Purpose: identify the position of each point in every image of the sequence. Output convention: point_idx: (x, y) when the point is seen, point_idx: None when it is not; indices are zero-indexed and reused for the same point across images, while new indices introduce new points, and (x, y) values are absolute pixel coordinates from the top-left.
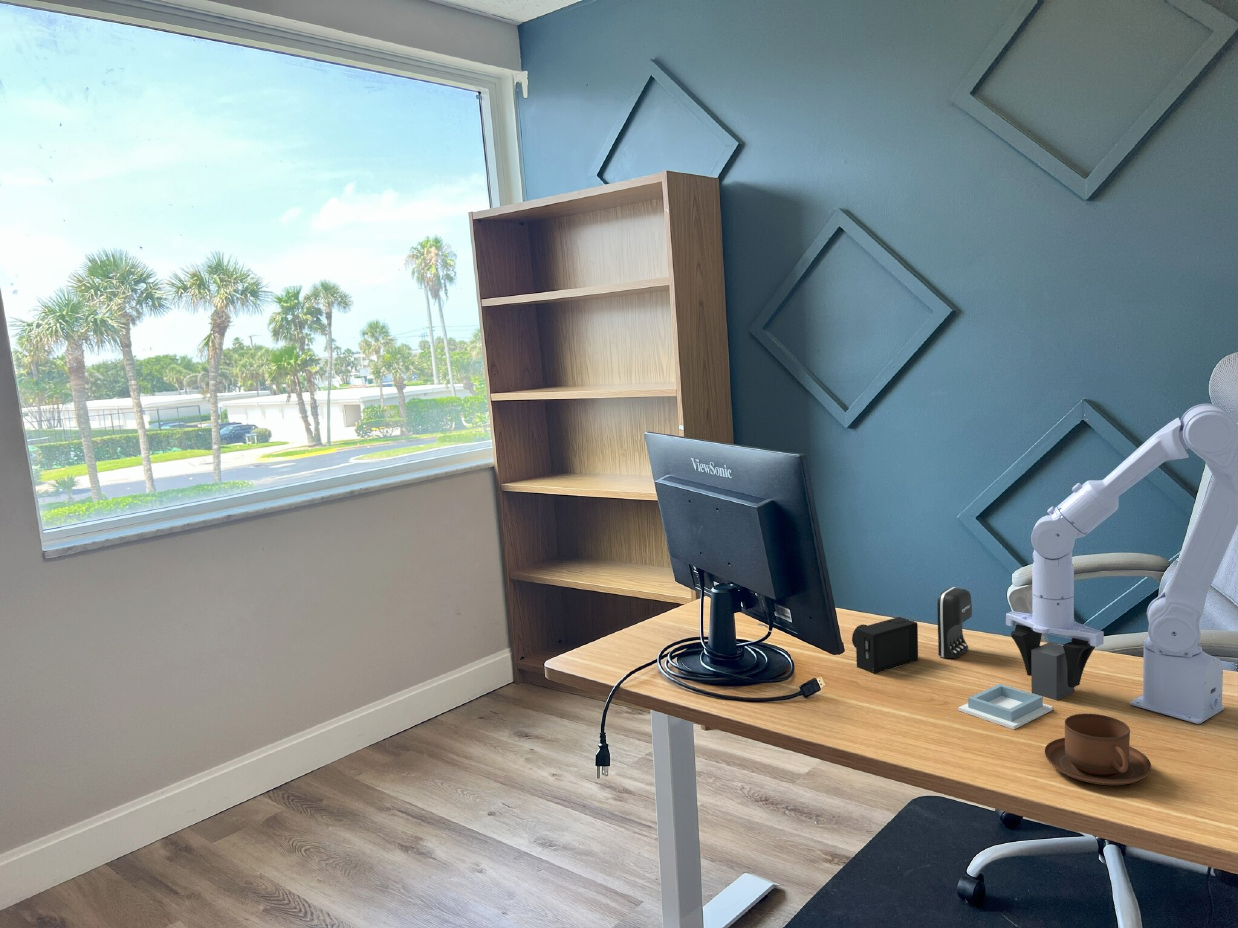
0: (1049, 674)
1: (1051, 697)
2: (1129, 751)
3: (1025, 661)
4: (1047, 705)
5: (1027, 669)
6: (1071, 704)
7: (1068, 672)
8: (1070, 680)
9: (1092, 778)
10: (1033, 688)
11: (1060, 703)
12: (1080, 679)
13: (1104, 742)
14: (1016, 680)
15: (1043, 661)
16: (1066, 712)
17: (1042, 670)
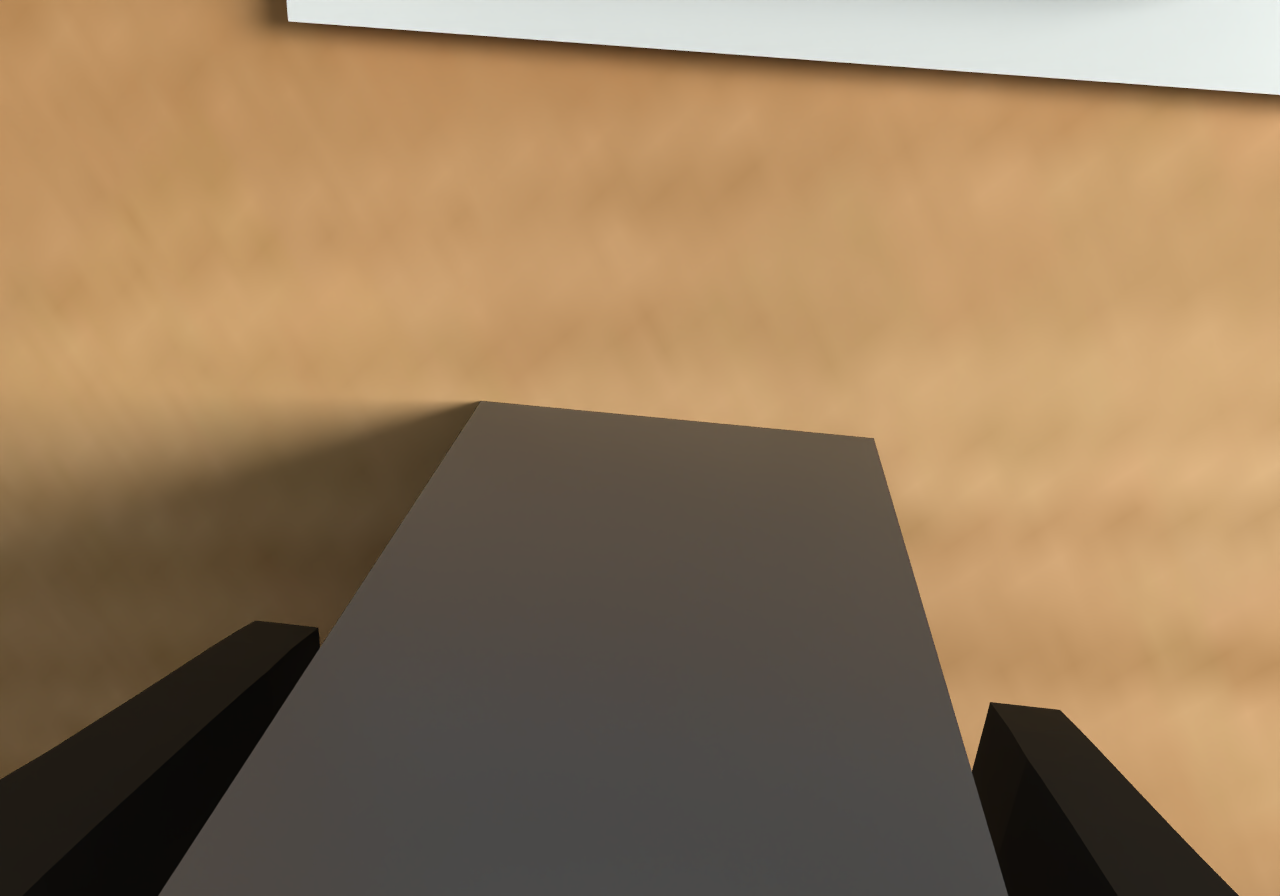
0: (503, 622)
1: (548, 413)
2: None
3: (1185, 887)
4: (375, 1)
5: (1080, 762)
6: (269, 395)
7: (123, 771)
8: (191, 673)
9: None
10: (847, 467)
11: (383, 334)
12: None
13: None
14: (1227, 716)
15: (608, 845)
16: (130, 66)
17: (667, 673)
